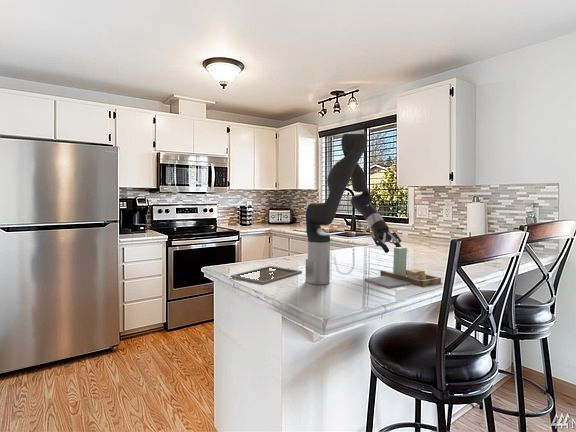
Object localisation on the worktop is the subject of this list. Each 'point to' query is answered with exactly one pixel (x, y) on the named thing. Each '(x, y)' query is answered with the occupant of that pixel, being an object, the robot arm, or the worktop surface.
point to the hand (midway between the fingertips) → (394, 251)
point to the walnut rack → (428, 280)
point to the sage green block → (400, 261)
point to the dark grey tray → (265, 276)
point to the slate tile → (387, 281)
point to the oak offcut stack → (416, 274)
